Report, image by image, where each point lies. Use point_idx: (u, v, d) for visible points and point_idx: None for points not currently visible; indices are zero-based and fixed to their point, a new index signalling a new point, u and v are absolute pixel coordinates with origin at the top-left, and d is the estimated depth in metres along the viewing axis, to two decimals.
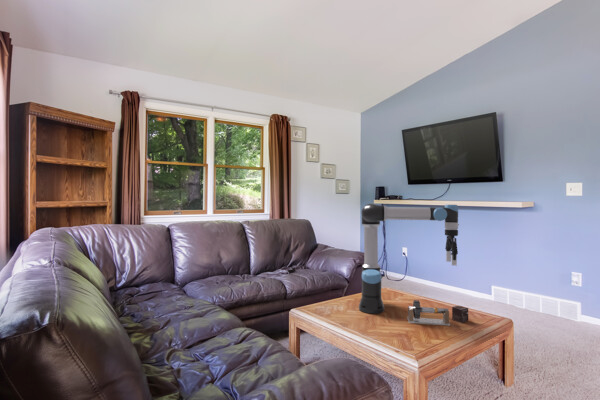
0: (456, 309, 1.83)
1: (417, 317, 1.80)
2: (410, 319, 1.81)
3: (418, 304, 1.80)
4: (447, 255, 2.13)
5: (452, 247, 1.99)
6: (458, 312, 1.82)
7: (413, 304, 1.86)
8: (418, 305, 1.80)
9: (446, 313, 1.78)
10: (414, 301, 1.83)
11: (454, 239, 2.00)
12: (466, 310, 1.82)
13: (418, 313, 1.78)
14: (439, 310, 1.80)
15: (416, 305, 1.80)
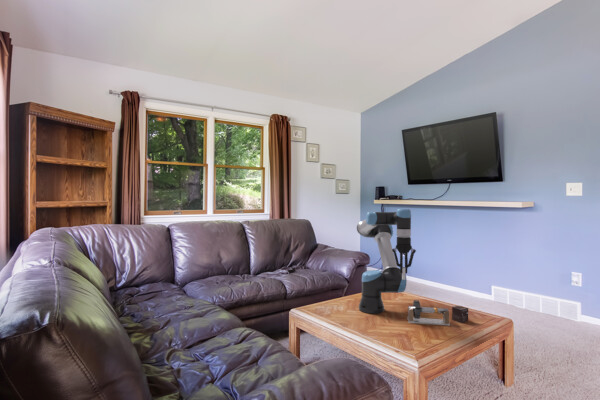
0: (456, 309, 1.83)
1: (417, 317, 1.80)
2: (410, 319, 1.81)
3: (418, 304, 1.80)
4: None
5: None
6: (458, 312, 1.82)
7: (413, 304, 1.86)
8: (418, 305, 1.80)
9: (446, 313, 1.78)
10: (414, 301, 1.83)
11: (392, 250, 1.86)
12: (466, 310, 1.82)
13: (418, 313, 1.78)
14: (439, 310, 1.80)
15: (416, 305, 1.80)
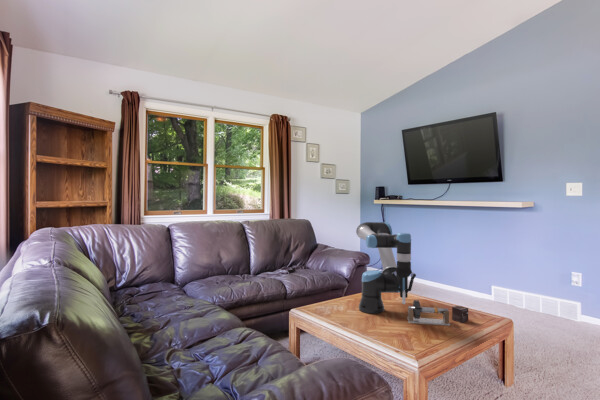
0: (456, 309, 1.83)
1: (417, 317, 1.80)
2: (410, 319, 1.81)
3: (418, 304, 1.80)
4: None
5: (396, 282, 1.86)
6: (458, 312, 1.82)
7: (413, 304, 1.86)
8: (418, 305, 1.80)
9: (446, 313, 1.78)
10: (414, 301, 1.83)
11: (392, 274, 1.86)
12: (466, 310, 1.82)
13: (418, 313, 1.78)
14: (439, 310, 1.80)
15: (416, 305, 1.80)
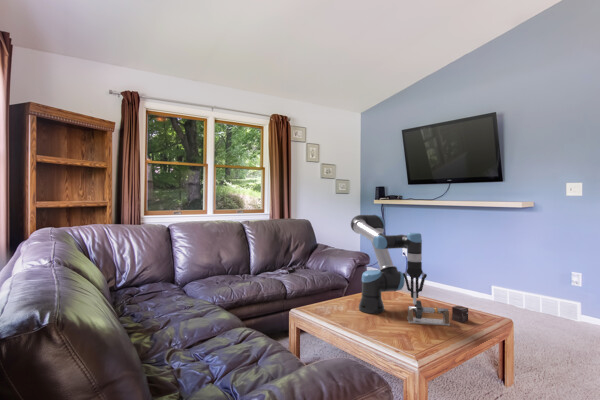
0: (456, 309, 1.83)
1: (419, 317, 1.80)
2: (410, 319, 1.81)
3: (420, 304, 1.80)
4: None
5: None
6: (458, 312, 1.82)
7: None
8: (420, 305, 1.80)
9: (446, 313, 1.78)
10: (416, 301, 1.83)
11: (403, 275, 1.84)
12: (466, 310, 1.82)
13: (420, 313, 1.78)
14: (439, 310, 1.80)
15: (418, 305, 1.80)
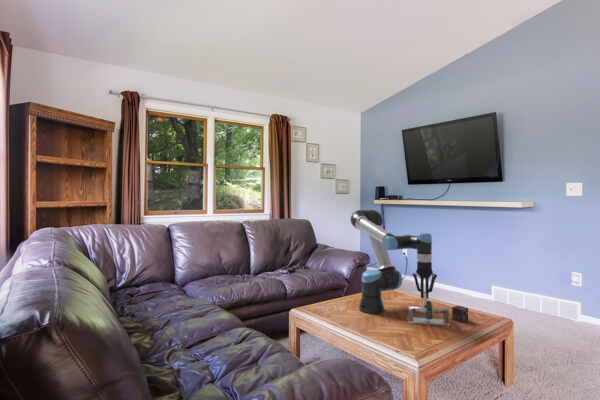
0: (456, 309, 1.83)
1: (429, 318, 1.79)
2: (410, 319, 1.81)
3: (430, 305, 1.79)
4: None
5: None
6: (458, 312, 1.82)
7: (424, 305, 1.85)
8: (430, 306, 1.79)
9: (446, 313, 1.78)
10: (426, 302, 1.82)
11: None
12: (466, 310, 1.82)
13: (430, 314, 1.77)
14: (439, 310, 1.80)
15: (428, 306, 1.79)
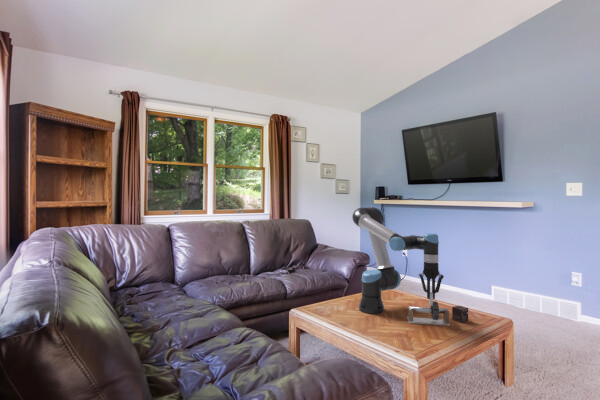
0: (456, 309, 1.83)
1: (435, 318, 1.78)
2: (410, 319, 1.81)
3: (436, 305, 1.78)
4: None
5: None
6: (458, 312, 1.82)
7: None
8: (436, 306, 1.78)
9: (446, 313, 1.78)
10: None
11: None
12: (466, 310, 1.82)
13: (437, 314, 1.77)
14: (439, 310, 1.80)
15: (434, 306, 1.78)
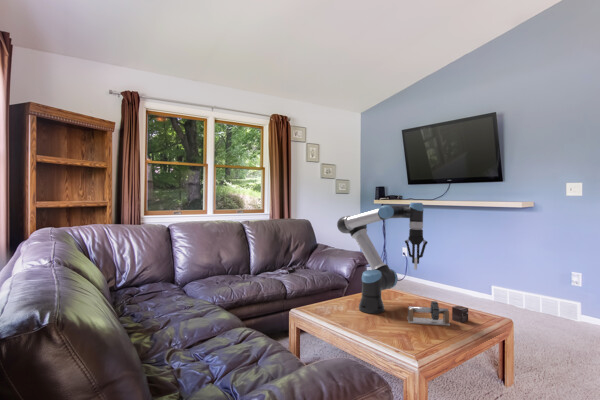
0: (456, 309, 1.83)
1: (435, 318, 1.78)
2: (410, 319, 1.81)
3: (436, 305, 1.78)
4: None
5: None
6: (458, 312, 1.82)
7: (431, 305, 1.85)
8: (436, 306, 1.78)
9: (446, 313, 1.78)
10: (432, 302, 1.81)
11: (405, 242, 1.96)
12: (466, 310, 1.82)
13: (437, 314, 1.77)
14: (439, 310, 1.80)
15: (434, 306, 1.78)
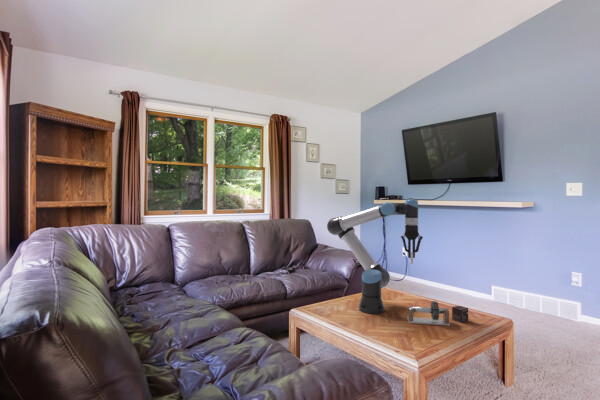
0: (456, 309, 1.83)
1: (435, 318, 1.78)
2: (410, 319, 1.81)
3: (436, 305, 1.78)
4: None
5: None
6: (458, 312, 1.82)
7: (431, 305, 1.85)
8: (436, 306, 1.78)
9: (446, 313, 1.78)
10: (432, 302, 1.81)
11: (401, 237, 2.04)
12: (466, 310, 1.82)
13: (437, 314, 1.77)
14: (439, 310, 1.80)
15: (434, 306, 1.78)
